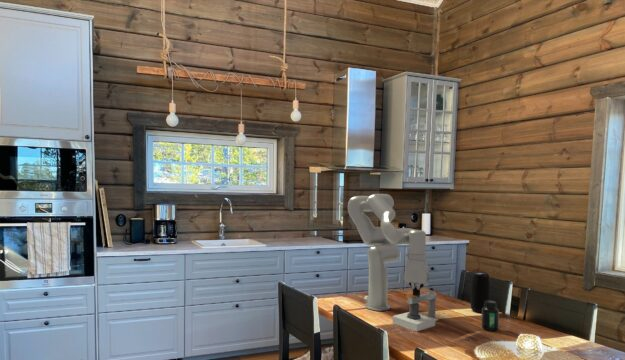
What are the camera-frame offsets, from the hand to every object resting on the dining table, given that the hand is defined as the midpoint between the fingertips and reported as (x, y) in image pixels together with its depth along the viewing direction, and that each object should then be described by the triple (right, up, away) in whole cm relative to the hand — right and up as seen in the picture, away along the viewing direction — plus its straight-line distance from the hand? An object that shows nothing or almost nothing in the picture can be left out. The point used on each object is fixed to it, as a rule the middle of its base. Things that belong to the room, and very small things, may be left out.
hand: (416, 297), depth 188 cm
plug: (-3, -10, -7) cm, 12 cm away
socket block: (+1, -11, -4) cm, 12 cm away
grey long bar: (+2, -1, -3) cm, 4 cm away
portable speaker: (+37, -13, +19) cm, 43 cm away
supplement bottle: (+31, -12, -7) cm, 34 cm away
